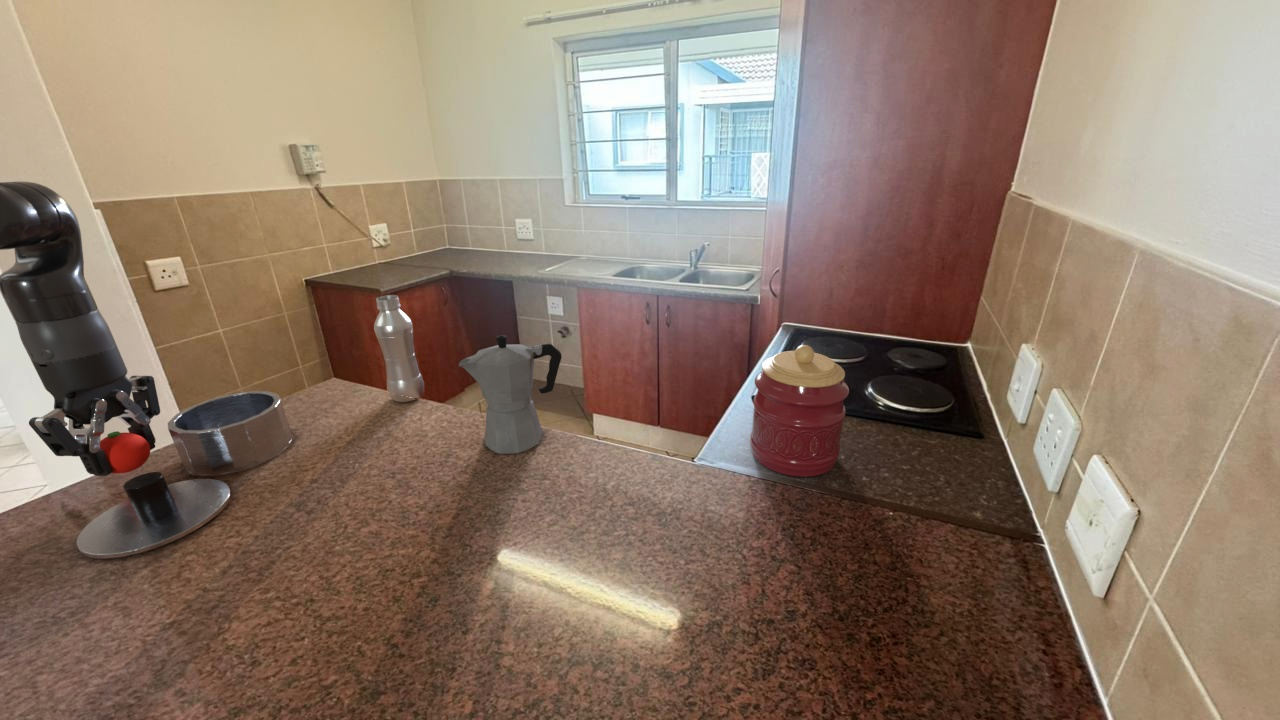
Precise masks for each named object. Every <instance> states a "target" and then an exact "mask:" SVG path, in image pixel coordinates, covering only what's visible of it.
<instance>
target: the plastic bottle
mask: <svg viewBox="0 0 1280 720" xmlns="http://www.w3.org/2000/svg"><path fill="white" fill-rule="evenodd" d="M375 301H376V308H377V310H378V311H379V313H378V314H377V316H376V318H375V320H374V324H373V331H374V333H375V337H376V339H377V342H378V344H379V346H380V349H381V354H382V356H383V360H384V366H385V372H386V374H385V375H386V391H387V393H388V392H390V393H388V395H389V397H390V398H391V399H392V400H393V401H394V402H398V403H408V402H413V401H415V400H418V399H420V398H422V396H423V394H424V392H425V381H424V379H423V375H422V374H421V371H420V368H419V366H418V361H417V358H416V353H415V345H414V329H413V328H414V327H413V326H414V325H413V322H412V319H411V318H410V317H409V316H408V315H407V314H406V313H405V312H404V311H403V310H401V306H402V305H401V303H400V298H399V295H395V294H386V295H381V296H378V297H376V298H375ZM393 393H394V394H393ZM401 395H403V396H401ZM406 396H408V397H406ZM409 397H413V398H409ZM414 398H417V399H414Z"/></svg>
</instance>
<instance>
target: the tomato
mask: <svg viewBox="0 0 1280 720" xmlns="http://www.w3.org/2000/svg"><path fill="white" fill-rule="evenodd" d="M106 435H107V436H106V437H104V438H102V439H100V449H103V450H104V453H105V455H106V457H107V459H108V461H109V463H110V465H111V467H112V469H113V472H112V473H111V474H127V473H131V472H133V471H136V470H137V469H140V468H141V467H142V466H143V465H144V464H145V463H146V462H147V461H148V459H149V457H150V455H151V450H150V446H149V443H148V442H147V441H146V440H145V439H144V438H143V437H141V436H139V435H137V434H134V433H129V432H120V431H111V432H109V433H108V434H106Z"/></svg>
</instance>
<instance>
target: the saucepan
mask: <svg viewBox="0 0 1280 720" xmlns="http://www.w3.org/2000/svg"><path fill="white" fill-rule="evenodd" d="M285 411H286V410H285V409H284V405H283V402H282V399H281V397H280V396H279V393H276V392H271V391H269V390H265V391H264V390H250V391H243V392H235V393H230V394H225V395H222V396H218V397H214V398H210V399H207V400H205V401H202V402H200V403H196V404H194V405H191V406H189V407H188V408H186V409H184V410H182V411H180V412H178V413H176V414H175V415H174V416H173V417H172V418H171V419H170V420H169V421H168V422H167V430H168V433H169V435H170V437H171V439H172V441H173V443H174V447H175V449H176V451H177V453H178V456H179V458H180V460H181V462H182V465H183V467H184V469H185V471H186V472H187V473H188V474H190V475H192V476H195V477H203V478H207V477H208V478H209V477H210V478H212V477H221V476H226V475H233V474H236V473H239V472H244V471H247V470H249V469H252V468H256V467H257V466H260V465H263V464H264V463H266V462H269V461H270V460H273V459H274V458H276V457H278V456H279V455H280V454H282V453H283V452H285V451H286V450H287V449H288V447H290V446H291V444H292V442H293V437H294V436H293V433H292V430H291V428H290V424H289V419H288V418H287V414H286V412H285ZM218 425H219V426H218Z"/></svg>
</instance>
